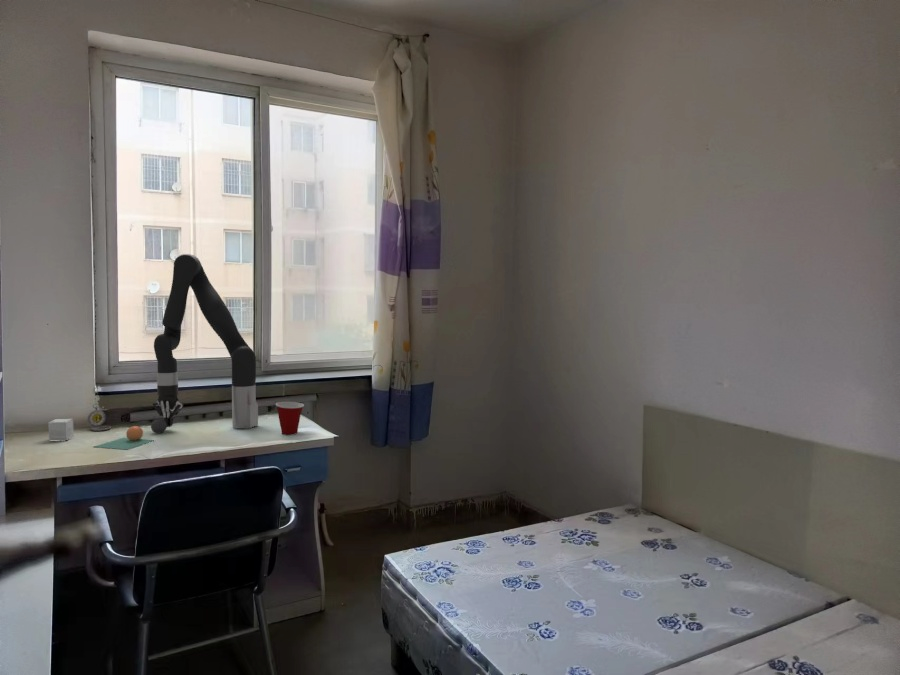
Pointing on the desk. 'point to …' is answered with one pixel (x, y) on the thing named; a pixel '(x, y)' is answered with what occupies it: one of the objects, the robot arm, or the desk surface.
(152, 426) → the black ball
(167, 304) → the robot arm
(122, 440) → the green mark
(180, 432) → the desk surface
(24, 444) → the desk surface
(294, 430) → the plastic cup
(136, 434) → the terracotta ball
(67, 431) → the skincare box
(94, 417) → the pocket watch
